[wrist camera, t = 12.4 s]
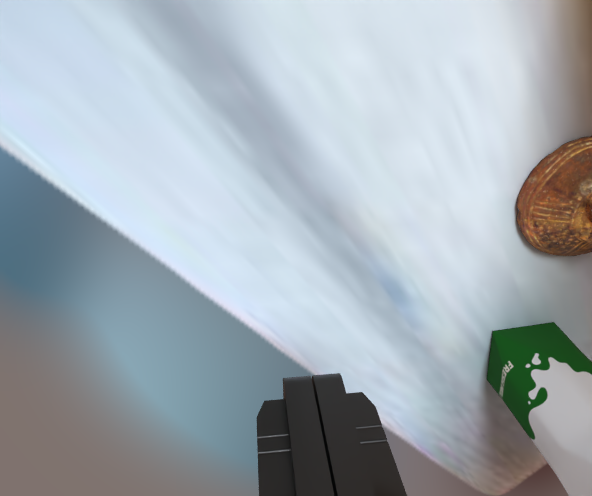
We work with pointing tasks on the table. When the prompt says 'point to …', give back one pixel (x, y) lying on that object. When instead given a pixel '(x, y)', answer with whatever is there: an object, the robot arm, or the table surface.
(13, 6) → the table surface
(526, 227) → the bell
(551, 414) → the milk carton
